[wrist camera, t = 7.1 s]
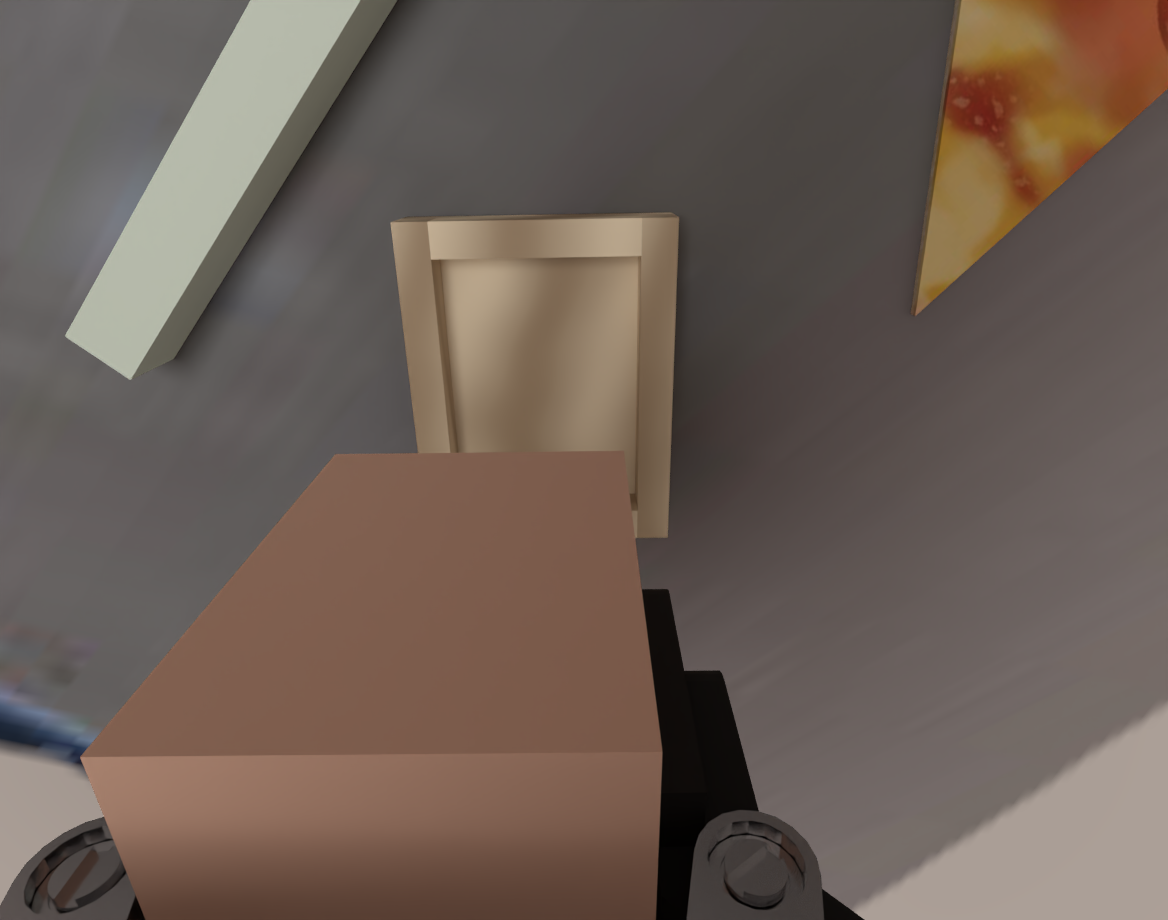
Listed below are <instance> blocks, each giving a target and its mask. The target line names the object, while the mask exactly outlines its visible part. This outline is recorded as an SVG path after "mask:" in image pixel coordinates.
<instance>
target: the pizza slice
mask: <svg viewBox="0 0 1168 920" xmlns="http://www.w3.org/2000/svg"><path fill="white" fill-rule="evenodd" d="M1167 89H1168V0H955V6H954V13H953V20H952V27H951V34H950V41H949V48H948V55H947V62H946V69H945V76H944V83H943V90H942V97H941V104H940V111H939V118H938V125H937V132H936V139H935V146H934V153H933V160H932V167H931V174H930V181H929V188H928V195H927V202H926V209H925V216H924V223H923V230H922V237H921V244H920V251H919V258H918V265H917V272H916V279H915V286H914V293H913V300H912V307H911V314H912V315H914V316H916V315H917V314H918V313H919V312H920V311H921V310H923V309H924V308H925V307H926V306H927V305H928V304H929V303H930V302H931V301H933V300H934V299H935V298H936V297H937V296H938V295H939V294H940V293H941V292H943V291H944V290H945V289H946V288H947V287H948V286H949V285H950V284H951V283H953V282H954V281H955V280H956V279H957V278H958V277H959V276H960V275H961V274H963V273H964V272H965V271H966V270H967V269H968V268H969V267H970V266H971V265H973V264H974V263H975V262H976V261H977V260H978V259H979V258H980V257H981V256H982V255H984V254H985V253H986V252H987V251H988V250H989V249H990V248H991V247H992V246H994V245H995V244H996V243H997V242H998V241H999V240H1000V239H1001V238H1002V237H1004V236H1005V235H1006V234H1007V233H1008V232H1009V231H1010V230H1011V229H1012V228H1014V227H1015V226H1016V225H1017V224H1018V223H1019V222H1020V221H1021V220H1022V219H1024V218H1025V217H1026V216H1027V215H1028V214H1029V213H1030V212H1031V211H1032V210H1034V209H1035V208H1036V207H1037V206H1038V205H1039V204H1040V203H1041V202H1042V201H1044V200H1045V199H1046V198H1047V197H1048V196H1049V195H1050V194H1051V193H1052V192H1053V191H1055V190H1056V189H1057V188H1058V187H1059V186H1060V185H1061V184H1062V183H1063V182H1065V181H1066V180H1067V179H1068V178H1069V177H1070V176H1071V175H1072V174H1073V173H1075V172H1076V171H1077V170H1078V169H1079V168H1080V167H1081V166H1082V165H1083V164H1085V163H1086V162H1087V161H1088V160H1089V159H1090V158H1091V157H1092V156H1093V155H1095V154H1096V153H1097V152H1098V151H1099V150H1100V149H1101V148H1102V147H1103V146H1105V145H1106V144H1107V143H1108V142H1109V141H1110V140H1111V139H1112V138H1113V137H1115V136H1116V135H1117V134H1118V133H1119V132H1120V131H1121V130H1122V129H1123V128H1124V127H1126V126H1127V125H1128V124H1129V123H1130V122H1131V121H1132V120H1133V119H1134V118H1136V117H1137V116H1138V115H1139V114H1140V113H1141V112H1142V111H1143V110H1144V109H1146V108H1147V107H1148V106H1149V105H1150V104H1151V103H1152V102H1153V101H1154V100H1156V99H1157V98H1158V97H1159V96H1160V95H1161V94H1162V93H1163V92H1164V91H1166V90H1167Z"/></svg>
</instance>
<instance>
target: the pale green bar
mask: <svg viewBox="0 0 1168 920" xmlns="http://www.w3.org/2000/svg"><path fill="white" fill-rule="evenodd" d="M396 2H397V0H251V1H250V2H249V4H248V6H247V8H246V10H245V11H244V13H243V15H242V17H241V19H240V21H239V22H238V24H237V26H236V28H235V30H234V31H233V33H232V35H231V37H230V39H229V40H228V42H227V44H226V46H225V48H224V49H223V51H222V53H221V55H220V57H219V59H218V60H217V62H216V64H215V66H214V68H213V69H212V71H211V73H210V75H209V77H208V78H207V80H206V82H205V84H204V86H203V87H202V89H201V91H200V93H199V95H198V97H197V98H196V100H195V102H194V104H193V106H192V107H191V109H190V111H189V113H188V115H187V116H186V118H185V120H184V122H183V124H182V125H181V127H180V129H179V131H178V133H177V134H176V136H175V138H174V140H173V142H172V144H171V145H170V147H169V149H168V151H167V153H166V154H165V156H164V158H163V160H162V162H161V163H160V165H159V167H158V169H157V171H156V172H155V174H154V176H153V178H152V180H151V182H150V183H149V185H148V187H147V189H146V191H145V192H144V194H143V196H142V198H141V200H140V201H139V203H138V205H137V207H136V209H135V210H134V212H133V214H132V216H131V218H130V219H129V221H128V223H127V225H126V227H125V229H124V230H123V232H122V234H121V236H120V238H119V239H118V241H117V243H116V245H115V247H114V248H113V250H112V252H111V254H110V256H109V257H108V259H107V261H106V263H105V265H104V267H103V268H102V270H101V272H100V274H99V276H98V277H97V279H96V281H95V283H94V285H93V286H92V288H91V290H90V292H89V294H88V295H87V297H86V299H85V301H84V303H83V305H82V306H81V308H80V310H79V312H78V314H77V315H76V317H75V319H74V321H73V323H72V324H71V326H70V328H69V330H68V332H67V333H66V335H65V337H67V338H68V339H70V340H71V341H73V342H74V343H76V344H77V345H79V346H80V347H82V348H83V349H85V350H86V351H88V352H89V353H91V354H92V355H94V356H95V357H97V358H98V359H100V360H101V361H103V362H104V363H106V364H107V365H109V366H110V367H112V368H113V369H115V370H116V371H118V372H119V373H121V374H122V375H124V376H125V377H127V378H128V379H130V380H132V379H134V378H136V377H138V376H140V375H142V374H144V373H146V372H148V371H150V370H152V369H154V368H156V367H158V366H160V365H162V364H164V363H167V362H169V361H171V360H173V359H174V358H175V356H176V355H177V353H178V351H179V350H180V348H181V347H182V345H183V343H184V342H185V340H186V339H187V337H188V335H189V334H190V332H191V331H192V329H193V327H194V326H195V324H196V323H197V321H198V319H199V318H200V316H201V315H202V313H203V311H204V310H205V308H206V307H207V305H208V303H209V302H210V300H211V298H212V297H213V295H214V294H215V292H216V290H217V289H218V287H219V286H220V284H221V282H222V281H223V279H224V278H225V276H226V274H227V273H228V271H229V270H230V268H231V266H232V265H233V263H234V262H235V260H236V258H237V257H238V255H239V254H240V252H241V250H242V249H243V247H244V246H245V244H246V242H247V241H248V239H249V238H250V236H251V234H252V233H253V231H254V230H255V228H256V226H257V225H258V223H259V222H260V220H261V218H262V217H263V215H264V213H265V212H266V210H267V209H268V207H269V205H270V204H271V202H272V201H273V199H274V197H275V196H276V194H277V193H278V191H279V189H280V188H281V186H282V185H283V183H284V181H285V180H286V178H287V177H288V175H289V173H290V172H291V170H292V169H293V167H294V165H295V164H296V162H297V161H298V159H299V157H300V156H301V154H302V153H303V151H304V149H305V148H306V146H307V145H308V143H309V141H310V140H311V138H312V137H313V135H314V133H315V132H316V130H317V128H318V127H319V125H320V124H321V122H322V120H323V119H324V117H325V116H326V114H327V112H328V111H329V109H330V108H331V106H332V104H333V103H334V101H335V100H336V98H337V96H338V95H339V93H340V92H341V90H342V88H343V87H344V85H345V84H346V82H347V80H348V79H349V77H350V76H351V74H352V72H353V71H354V69H355V68H356V66H357V64H358V63H359V61H360V60H361V58H362V56H363V55H364V53H365V52H366V50H367V48H368V47H369V45H370V43H371V42H372V40H373V39H374V37H375V35H376V34H377V32H378V31H379V29H380V27H381V26H382V24H383V23H384V21H385V19H386V18H387V16H388V15H389V13H390V11H391V10H392V8H393V7H394V5H395V3H396Z"/></svg>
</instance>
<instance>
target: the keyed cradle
mask: <svg viewBox="0 0 1168 920" xmlns="http://www.w3.org/2000/svg"><path fill="white" fill-rule="evenodd" d="M391 231H392V239H393V247H394V256H395V264H396V272H397V281H398V289H399V298H400V306H401V314H402V323H403V331H404V339H405V348H406V356H407V365H408V373H409V381H410V390H411V398H412V406H413V415H414V423H415V432H416V440H417V448H418V453H481V452H562V451H624V456H625V464H626V472H627V479H628V487H629V495H630V503H631V511H632V518H633V526H634V534H635V538H668V514H669V486H670V458H671V430H672V401H673V373H674V345H675V317H676V288H677V260H678V232H679V217H678V216H676V215H674V214H673V213H671V212H663V213H605V214H546V215H488V216H430V217H405V218H402V219H399V220H396V221H393V222H391Z"/></svg>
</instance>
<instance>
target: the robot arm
mask: <svg viewBox="0 0 1168 920" xmlns="http://www.w3.org/2000/svg"><path fill="white" fill-rule="evenodd" d="M642 596H643V604H644V612H645V620H646V627H647V635H648V643H649V651H650V659H651V666H652V674H653V682H654V690H655V697H656V705H657V713H658V721H659V729H660V736H661V744H662V777H661V802H660V827H659V852H658V877H657V902H656V920H864V919H863V918H861V917H860V916H858V915H857V914H856V913H854V912H853V911H852V910H850V909H849V908H848V907H846V906H845V905H843V904H842V903H841V902H839V901H838V900H837V899H835V898H834V897H832V896H831V895H830V894H828V893H827V892H826V891H824V890H823V889H822V882H821V874H820V870H819V865H818V861H817V858H816V856H815V854H814V852H813V851H812V849H811V847H810V846H809V844H808V842H807V841H806V840H805V839H804V838H803V837H802V836H801V835H800V834H799V833H798V832H797V831H796V830H795V829H794V828H793V827H792V826H790V825H788V824H787V823H785V822H783V821H782V820H780V819H778V818H777V817H775V816H771V815H768V814H765V813H762V812H759V810H758V807H757V803H756V799H755V795H754V791H753V788H752V784H751V780H750V776H749V772H748V769H747V765H746V761H745V757H744V753H743V750H742V746H741V742H740V738H739V734H738V731H737V727H736V723H735V719H734V715H733V712H732V708H731V704H730V700H729V696H728V693H727V689H726V685H725V681H724V678H723V675H722V673H721V672H720V671H684V668H683V663H682V657H681V652H680V647H679V642H678V636H677V631H676V626H675V621H674V615H673V610H672V605H671V599H670V594H669V590H668V589H642ZM0 920H145V917H144V915H143V912H142V910H141V907H140V905H139V902H138V900H137V897H136V895H135V892H134V890H133V887H132V885H131V882H130V880H129V877H128V875H127V872H126V870H125V867H124V865H123V862H122V860H121V857H120V855H119V852H118V850H117V847H116V845H115V843H114V840H113V838H112V835H111V833H110V830H109V828H108V825H107V823H106V820H105V818H104V817H102V818H99V819H95V820H92V821H89V822H85V823H83V824H81V825H79V826H77V827H75V828H73V829H71V830H69V831H67V832H65V833H63V834H62V835H60V836H59V837H57V838H56V839H54V840H53V841H51V842H50V843H49V844H47V845H46V846H44V847H43V848H42V849H41V850H40V851H39V852H38V853H37V854H36V855H35V856H34V857H32V858H31V859H30V860H29V861H28V862H27V863H26V865H25V866H24V867H23V869H22V870H21V871H20V873H19V874H18V876H17V877H16V879H15V880H14V882H13V883H12V885H11V887H10V889H9V890H8V892H7V895H6V896H5V898H4V900H3V901H2V903H1V905H0Z"/></svg>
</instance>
